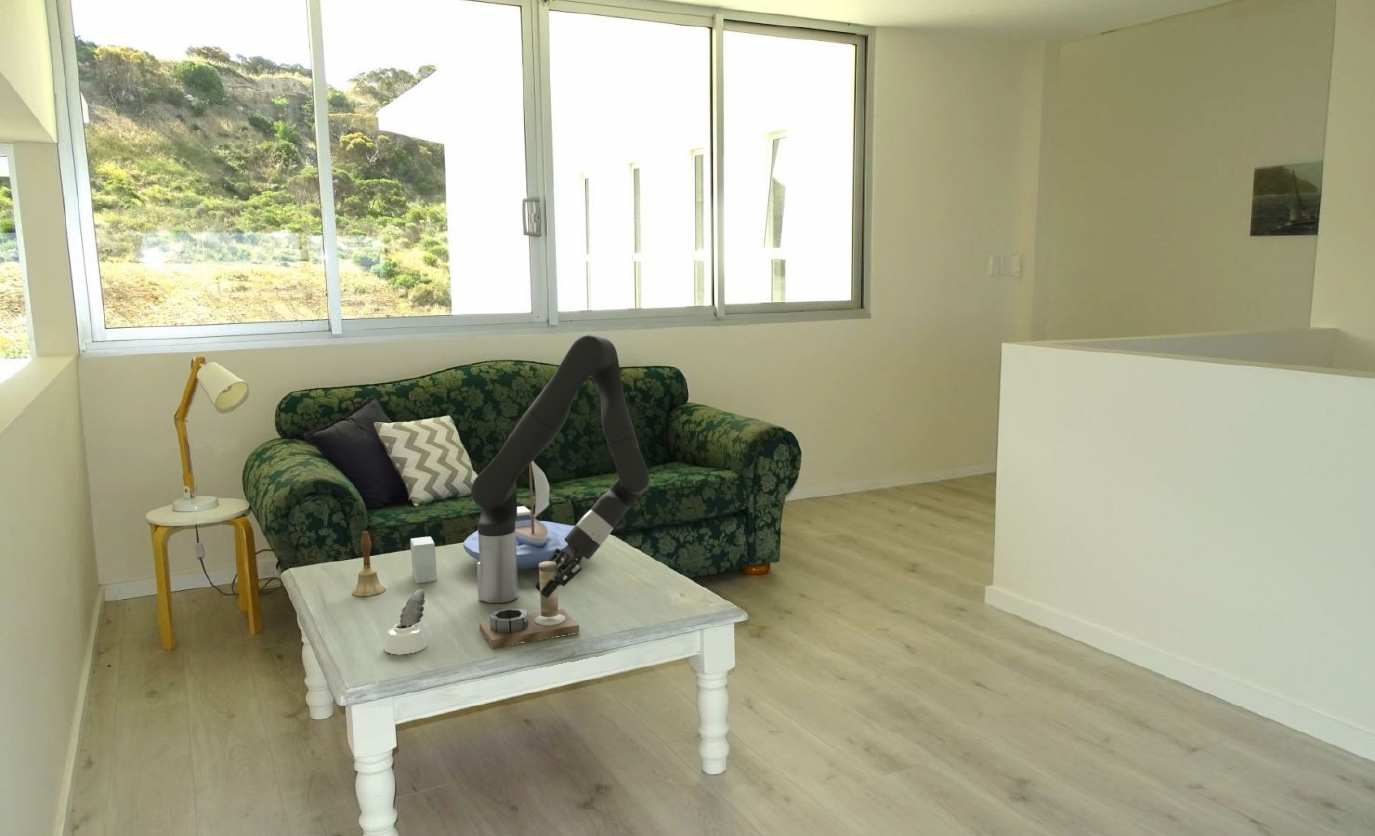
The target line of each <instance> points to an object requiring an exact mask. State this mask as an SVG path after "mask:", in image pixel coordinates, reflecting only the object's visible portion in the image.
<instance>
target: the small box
mask: <svg viewBox="0 0 1375 836" xmlns="http://www.w3.org/2000/svg"><path fill="white" fill-rule="evenodd" d="M409 541H410V554H411V570H412V576H413V579H414V581H415V584H423V583H428V582H436V581H438V575H437V574H438V571H437V557H436V544H435V542H434V540H433V538H432V536H422V537H421V536H420V537H413V538H410V539H409Z"/></svg>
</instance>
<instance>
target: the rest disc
mask: <svg viewBox="0 0 1375 836" xmlns="http://www.w3.org/2000/svg"><path fill="white" fill-rule="evenodd" d="M564 621H565V616H563V615H560V614H558V615H557V616H554V617H543V616H538V617H536V618H535V623H536V624H538V625H543V626H552V625H557V624H561V623H563V622H564Z"/></svg>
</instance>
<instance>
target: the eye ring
mask: <svg viewBox="0 0 1375 836" xmlns="http://www.w3.org/2000/svg"><path fill="white" fill-rule="evenodd" d="M528 615H529V613H528V611H526V610H525V609H523V608H515V607H513V608H512V607H511V608H510V607H508V608H503V609H499V610H495V611H493V612H491V614H490V615H489V621H490V629H491V630H492V631H494V632H495V633H501V634H510V633H511V634H512V633H516V632H520V631H523V630H525V629H526V628H527V627H528V626H529V625H528Z"/></svg>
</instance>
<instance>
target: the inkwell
mask: <svg viewBox="0 0 1375 836" xmlns="http://www.w3.org/2000/svg"><path fill="white" fill-rule="evenodd" d="M425 598H426V597H425V591H424V590H423V589H417V590H416V591H415V592H413V593H412V594H411V596H410V597H409V598H408V599H407V601H406V603H405V606H404V607H403V608H402V610H401V614H400V615H399V617H400V620H399V623H396V624H395V625H393V627H392V628H390V629H389V630H387V635H386V638H385V642H384V648H383V650H384V651H385V653H386V652H388V653H391V654H390V655H392V654H398V655H397V656H402V655H401V654H408V655H410V654H409V653H412V654H415V653H414V652H416V653H418V652H417V651H419V652H421V651H423V650H424V649H426V648H427V645H428V642H427V639H426V637H425V634H424V630H423V628H422V627H421V626H419V625H417V624H418V623H420V622H421V620H422V617H424V613H423V611H424V610H425V606H424V605H425V602H426V599H425ZM422 649H423V650H422ZM420 650H421V651H420ZM388 653H387V654H388Z"/></svg>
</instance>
